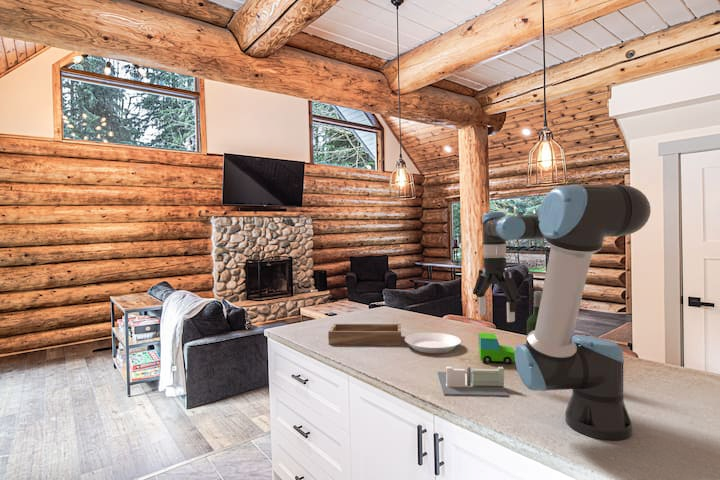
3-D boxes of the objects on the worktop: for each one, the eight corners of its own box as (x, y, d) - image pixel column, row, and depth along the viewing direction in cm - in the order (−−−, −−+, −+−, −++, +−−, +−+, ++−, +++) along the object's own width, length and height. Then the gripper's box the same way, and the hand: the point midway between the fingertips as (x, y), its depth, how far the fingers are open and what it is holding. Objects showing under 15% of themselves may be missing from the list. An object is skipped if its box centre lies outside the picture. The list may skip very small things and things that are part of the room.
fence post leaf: (471, 388, 132) (471, 368, 132) (447, 387, 133) (446, 368, 133) (470, 386, 134) (470, 366, 134) (446, 385, 135) (446, 366, 135)
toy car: (517, 366, 153) (516, 340, 153) (481, 364, 156) (480, 338, 156) (512, 357, 163) (512, 333, 163) (478, 356, 166) (478, 332, 166)
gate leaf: (473, 385, 132) (473, 368, 132) (472, 383, 134) (472, 366, 134) (504, 386, 132) (503, 368, 131) (502, 384, 133) (502, 366, 133)
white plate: (401, 354, 171) (401, 346, 171) (408, 338, 195) (408, 331, 195) (461, 357, 165) (461, 349, 165) (460, 341, 189) (460, 333, 189)
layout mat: (508, 396, 125) (508, 394, 125) (444, 395, 127) (444, 393, 127) (493, 373, 145) (493, 372, 145) (437, 373, 147) (437, 371, 147)
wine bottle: (538, 369, 149) (538, 289, 148) (556, 376, 142) (555, 292, 141) (522, 372, 146) (521, 290, 145) (539, 379, 139) (538, 293, 138)
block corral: (401, 344, 184) (401, 332, 184) (328, 344, 187) (328, 331, 187) (401, 335, 200) (400, 324, 200) (333, 335, 203) (333, 323, 203)
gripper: (531, 257, 128) (533, 323, 128) (478, 255, 151) (479, 311, 151) (514, 258, 125) (515, 326, 125) (462, 256, 148) (463, 313, 148)
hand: (495, 318), depth 138 cm, fingers open, 13 cm apart
